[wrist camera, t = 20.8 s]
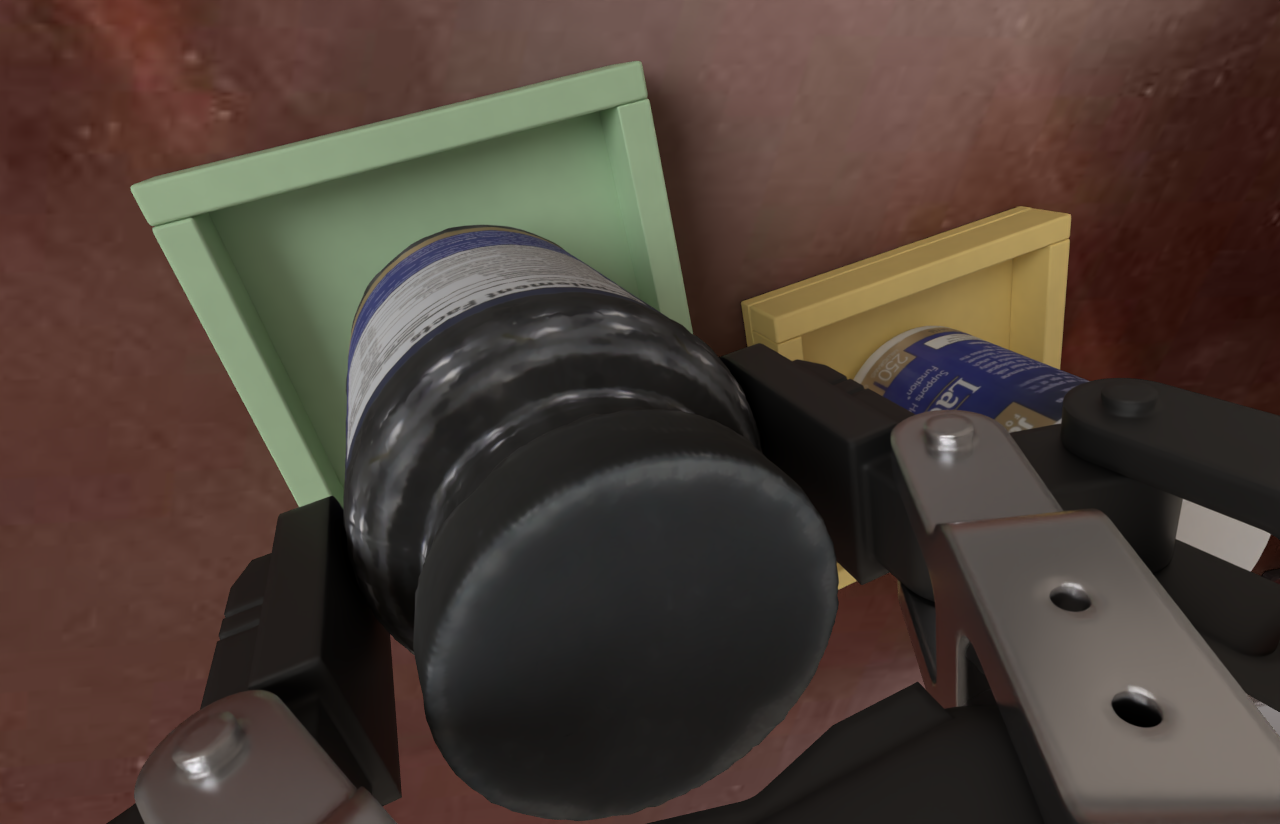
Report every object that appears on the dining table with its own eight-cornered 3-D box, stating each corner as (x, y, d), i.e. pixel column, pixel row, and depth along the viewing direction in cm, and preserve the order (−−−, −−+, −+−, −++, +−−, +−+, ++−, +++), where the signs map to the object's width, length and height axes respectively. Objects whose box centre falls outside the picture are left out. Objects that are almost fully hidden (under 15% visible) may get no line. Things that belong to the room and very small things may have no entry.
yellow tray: (739, 301, 21) (774, 318, 19) (1020, 205, 24) (1073, 213, 22) (780, 570, 26) (810, 603, 24) (1009, 468, 28) (1051, 492, 27)
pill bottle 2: (846, 327, 22) (1155, 466, 14) (986, 315, 24) (1335, 431, 16) (822, 487, 24) (1076, 693, 16) (952, 464, 26) (1241, 637, 18)
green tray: (152, 176, 15) (126, 186, 13) (613, 64, 17) (643, 59, 16) (350, 560, 20) (349, 603, 18) (688, 431, 22) (717, 458, 20)
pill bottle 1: (606, 446, 19) (859, 783, 10) (367, 483, 17) (387, 952, 8) (604, 212, 17) (939, 352, 7) (325, 222, 15) (276, 436, 5)
